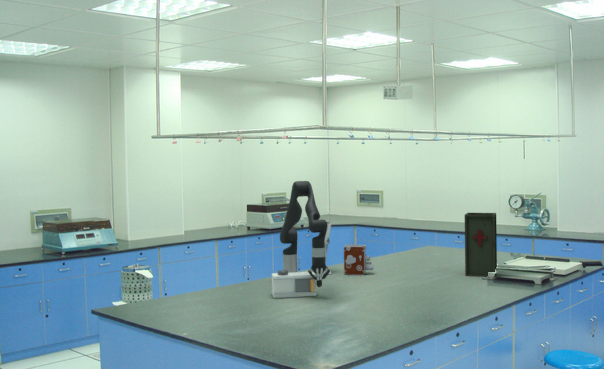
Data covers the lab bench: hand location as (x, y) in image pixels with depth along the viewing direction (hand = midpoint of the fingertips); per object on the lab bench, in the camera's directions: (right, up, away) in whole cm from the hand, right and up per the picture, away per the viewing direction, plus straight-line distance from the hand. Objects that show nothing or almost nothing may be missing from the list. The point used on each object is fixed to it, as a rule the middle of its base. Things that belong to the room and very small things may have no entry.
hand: (319, 286), depth 311 cm
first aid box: (+109, -3, +59) cm, 124 cm away
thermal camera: (+4, -5, +72) cm, 72 cm away
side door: (-8, -3, 0) cm, 9 cm away
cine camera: (+29, -4, +67) cm, 73 cm away
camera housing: (-14, -6, +7) cm, 17 cm away
